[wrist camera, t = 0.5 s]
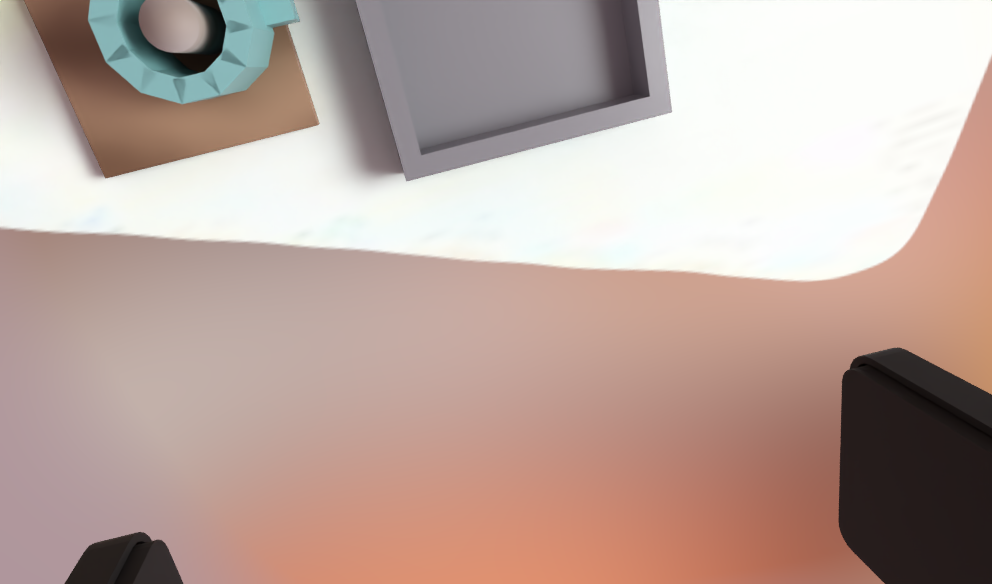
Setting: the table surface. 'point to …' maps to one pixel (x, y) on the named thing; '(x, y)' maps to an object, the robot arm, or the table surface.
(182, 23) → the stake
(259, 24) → the ring
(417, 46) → the tray
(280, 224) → the table surface
